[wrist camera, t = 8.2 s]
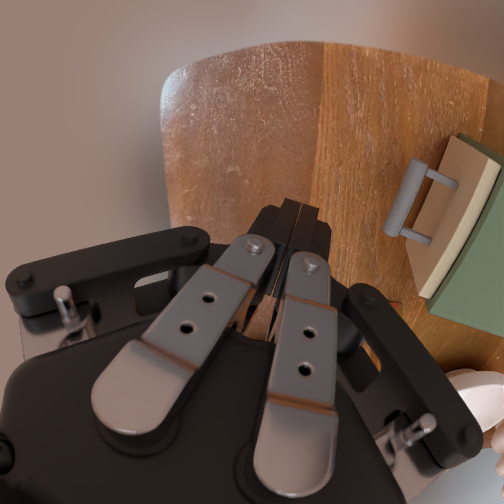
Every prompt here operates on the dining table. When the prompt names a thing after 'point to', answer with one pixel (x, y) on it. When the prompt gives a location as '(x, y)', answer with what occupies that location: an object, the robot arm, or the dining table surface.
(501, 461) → the vase
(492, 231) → the cabinet
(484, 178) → the drawer
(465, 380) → the bowl
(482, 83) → the dining table surface
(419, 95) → the dining table surface
